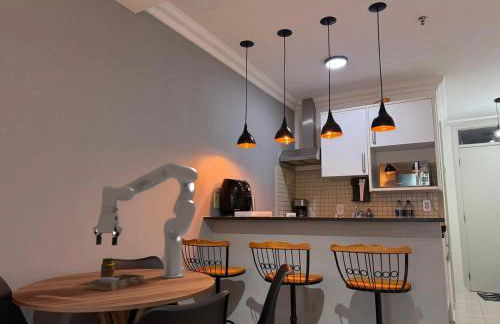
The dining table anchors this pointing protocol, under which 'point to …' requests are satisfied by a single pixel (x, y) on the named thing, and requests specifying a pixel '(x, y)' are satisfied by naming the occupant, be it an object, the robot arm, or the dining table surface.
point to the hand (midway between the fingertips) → (106, 244)
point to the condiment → (107, 267)
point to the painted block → (108, 279)
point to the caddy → (123, 282)
